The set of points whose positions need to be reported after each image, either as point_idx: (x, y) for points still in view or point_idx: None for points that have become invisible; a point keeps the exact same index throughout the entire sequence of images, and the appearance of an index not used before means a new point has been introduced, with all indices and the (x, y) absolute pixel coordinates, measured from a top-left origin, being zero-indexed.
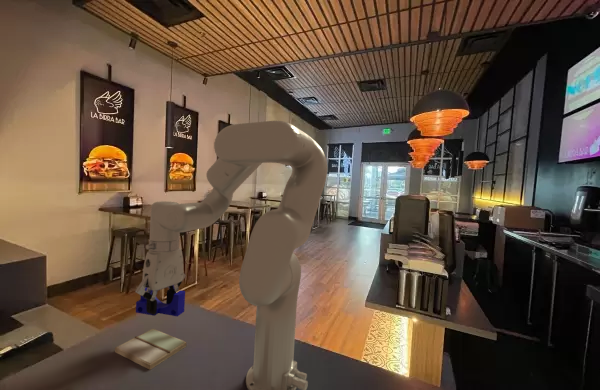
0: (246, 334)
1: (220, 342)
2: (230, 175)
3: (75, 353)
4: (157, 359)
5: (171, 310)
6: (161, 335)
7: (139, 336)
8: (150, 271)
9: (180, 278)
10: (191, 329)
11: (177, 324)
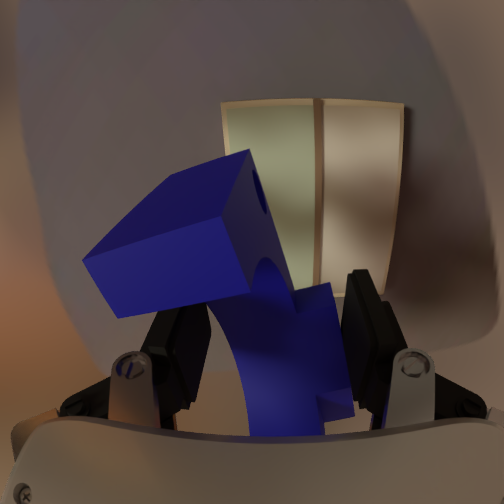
0: (44, 12)
1: (124, 23)
2: None
3: (411, 347)
4: (371, 105)
5: (265, 215)
6: None
7: None
8: None
9: (57, 456)
10: (135, 193)
11: None
